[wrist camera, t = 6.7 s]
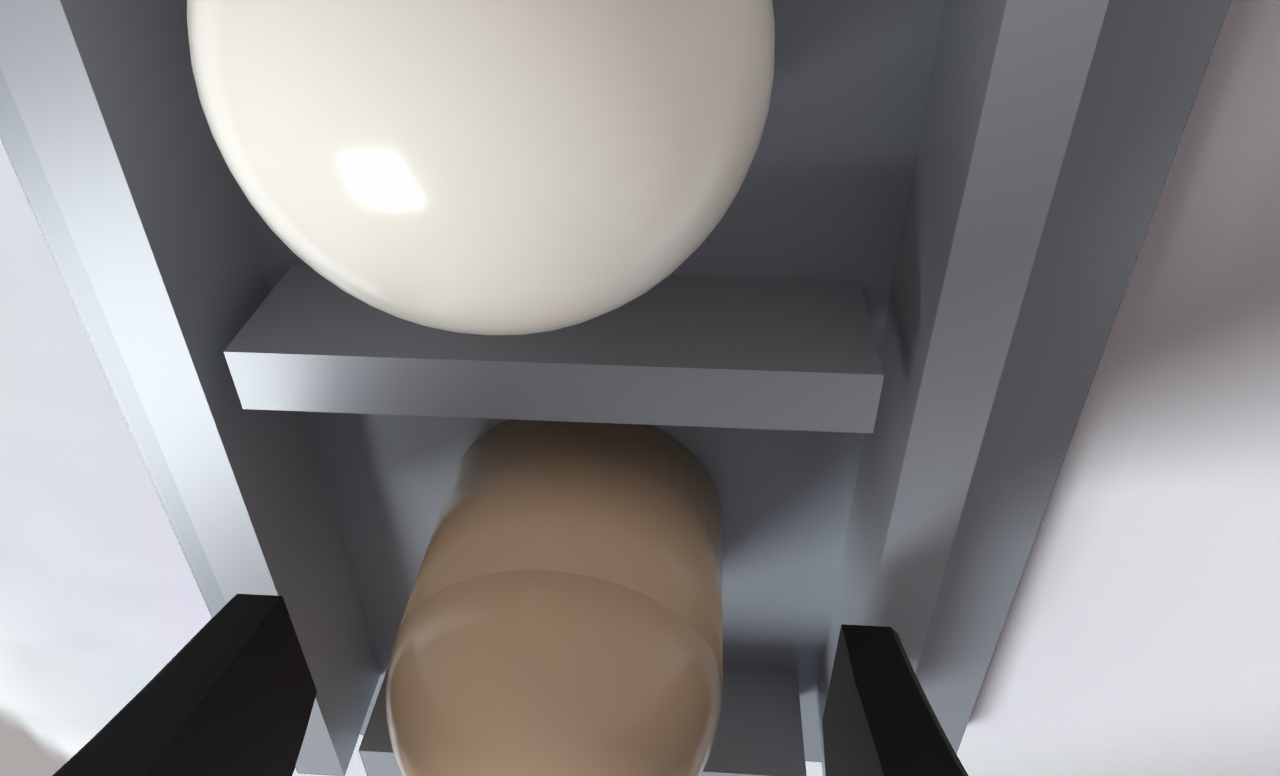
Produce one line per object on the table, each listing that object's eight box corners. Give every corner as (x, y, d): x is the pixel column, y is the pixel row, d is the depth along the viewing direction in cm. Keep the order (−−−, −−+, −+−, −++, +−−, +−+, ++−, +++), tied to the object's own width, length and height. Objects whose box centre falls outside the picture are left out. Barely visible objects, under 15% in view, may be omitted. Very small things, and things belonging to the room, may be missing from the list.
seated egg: (745, 171, 10) (763, 461, 6) (387, 162, 11) (181, 437, 6) (776, -284, 8) (842, -297, 4) (309, -281, 8) (-111, -291, 4)
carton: (942, 732, 18) (974, 876, 16) (276, 694, 19) (216, 827, 16) (1567, -1112, 6) (2114, -1651, 3) (-413, -998, 6) (-1010, -1382, 4)
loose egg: (716, 611, 15) (714, 947, 11) (467, 598, 15) (373, 920, 11) (729, 413, 12) (734, 753, 8) (432, 401, 13) (294, 725, 9)
